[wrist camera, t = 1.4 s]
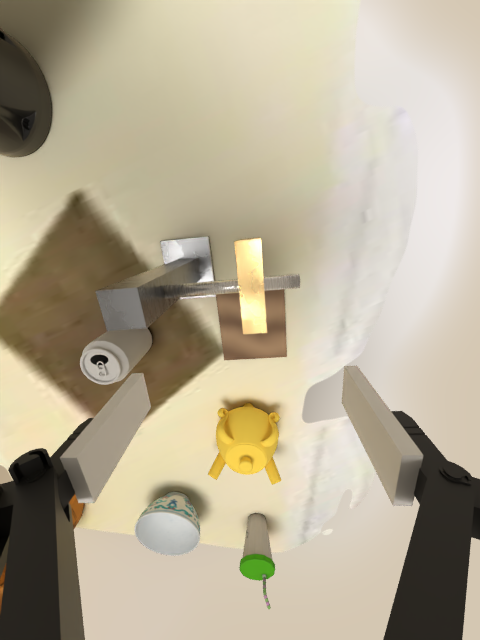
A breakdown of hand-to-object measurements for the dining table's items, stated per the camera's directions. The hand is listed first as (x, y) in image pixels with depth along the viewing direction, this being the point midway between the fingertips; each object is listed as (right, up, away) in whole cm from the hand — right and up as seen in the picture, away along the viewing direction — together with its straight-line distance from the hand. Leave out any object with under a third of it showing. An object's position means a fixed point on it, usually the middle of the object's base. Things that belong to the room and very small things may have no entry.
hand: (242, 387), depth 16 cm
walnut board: (+2, +4, +30) cm, 30 cm away
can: (-21, +1, +33) cm, 39 cm away
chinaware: (-16, -42, +48) cm, 66 cm away
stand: (-3, +14, +27) cm, 30 cm away
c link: (+2, +11, +17) cm, 20 cm away
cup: (+4, -47, +49) cm, 68 cm away
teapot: (+1, -19, +39) cm, 43 cm away
